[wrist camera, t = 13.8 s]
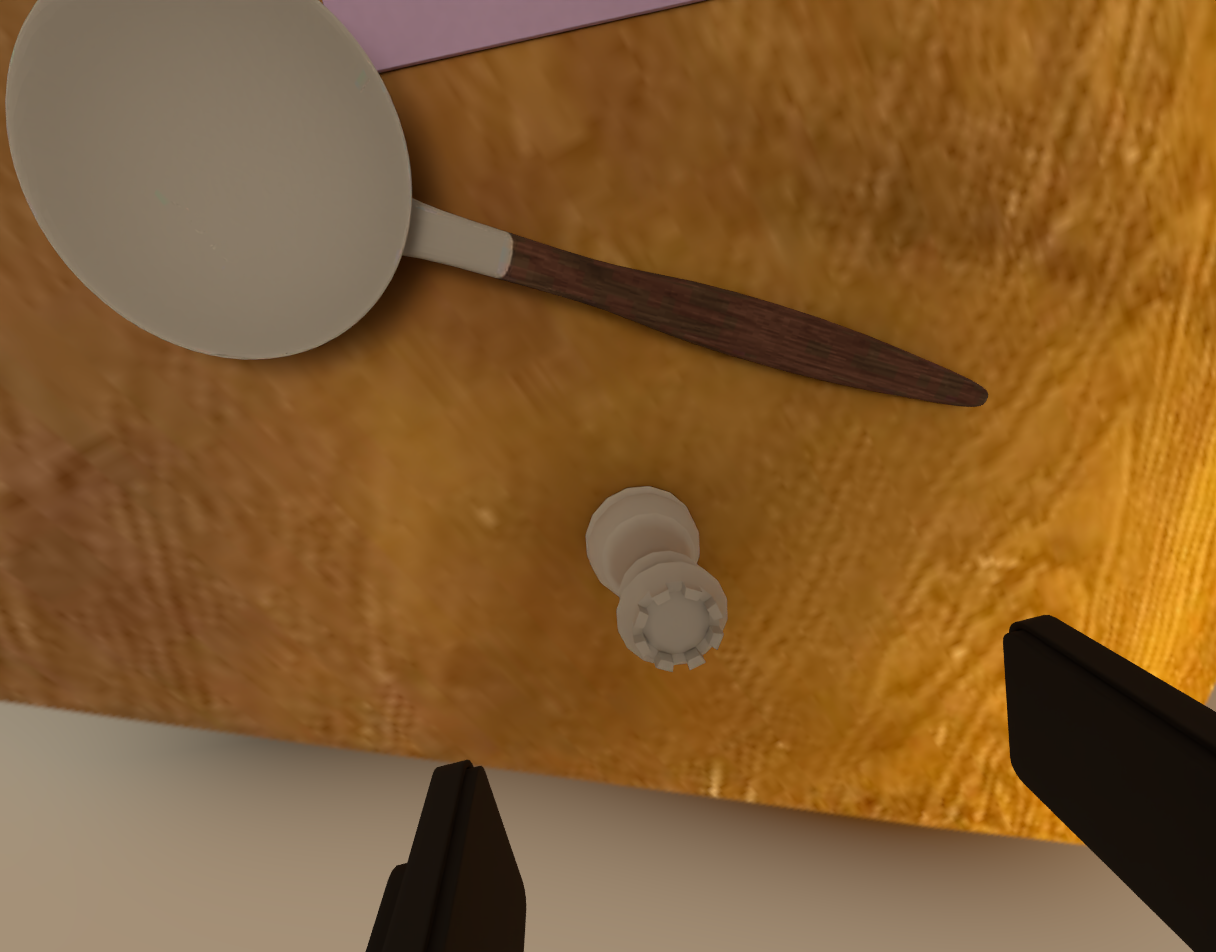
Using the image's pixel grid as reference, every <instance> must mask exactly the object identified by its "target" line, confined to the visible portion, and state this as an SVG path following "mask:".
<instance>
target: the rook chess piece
mask: <svg viewBox="0 0 1216 952" xmlns="http://www.w3.org/2000/svg"><path fill="white" fill-rule="evenodd" d="M586 547H587V557H588V558H589V560H590V564H591V566H592V568H593V570H594V572H595V574H596V575H597V577H598V579H599V581H600V582H601V583H602V584H603V585H605V586H606V587H607V588H608V589H610V590H611V591H612V592H614V593H615V594H616V595H617V596H619V597H620V602H619V605H618V607H617V610H616V611H617V624H618V632H619V633H620V635H621V637H622V639H623V641H624V642H625V644H626V646H627V648H628V649H629V650H631V651H632V652H633V653H635V654H636V655H637V656H639V657H640V658H641V659H643V660H644V661H648V662H651V663H655V667H656V668H658V669H662V670H666V671H670V672H673V666H674V665H677V664H686V663H687V664H688V667H689V669H690V670H691V669H693V668H695V667H697V666H699V665H701V664H703V663H705V660H704V658H703V655H704V654H706V652H707V651H708V650H709V649H710V648H711V647H713V648H715V649H717V650H718V647H719V645H720V642H721V640H722V637H723V635H724V633H723V632H722V631H723V629H724V626H725V624H726V621H727V598H726V596H725V594H724V592H723V590H722V588H721V586H720V584H719V582H718V580H717V579H715V578H714V577H713V576H712V575H710V574H709V573H708V572H707V571H706V570H704V569H703V568H702V567H700V566H699V565H698V564H697V561H698V559H699V555H700V548H699V532H698V530H697V527H696V525H695V523H694V521H693V519H692V517H691V515H690V513H689V511H688V509H687V507H686V506H685V505H684V504H683V503H682V502H681V501H680V500H678V499H677V498H676V497H675V496H674V495H672V494H671V493H670V492H667V491H663V490H660V489H657V488H654V487H650V486H646V487H635V488H626V489H624V490H622V491H620V492H619V493H617V494H615V495H613V496H611V497H609V498H607V499H606V500H605V501H604V502H603V503H602V505H601V506H600V507H599V508H598V509H597V510H596V511H595V513H594V514H593V515H592V518H591V521H590V524H589V527H588V530H587V533H586Z"/></svg>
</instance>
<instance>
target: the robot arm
mask: <svg viewBox="0 0 1216 952" xmlns="http://www.w3.org/2000/svg"><path fill="white" fill-rule="evenodd" d="M1003 650H1004V666H1005V682H1006V698H1007V714H1008V730H1009V746H1010V759H1011V763H1012V766H1013V768H1014V770H1015V772H1016V774H1017V776H1018V777H1019V779H1020V780H1021V781H1022V782H1023V783H1024V784H1025V785H1026V786H1027V787H1028V788H1029V789H1030V790H1031V791H1032V792H1033V793H1034V794H1035V795H1036V796H1037V797H1038V798H1039V799H1040V800H1041V801H1042V802H1043V803H1044V804H1045V805H1046V806H1047V807H1048V808H1049V809H1050V810H1051V811H1052V812H1053V813H1054V814H1055V815H1056V816H1057V817H1058V818H1059V819H1060V820H1061V821H1062V822H1063V823H1064V824H1065V825H1066V826H1067V827H1068V828H1069V829H1070V830H1071V831H1072V832H1073V833H1074V834H1075V835H1076V836H1077V837H1078V838H1080V839H1081V840H1082V841H1083V842H1084V843H1085V844H1086V845H1087V846H1088V847H1089V848H1090V849H1091V850H1092V851H1093V852H1094V853H1095V854H1096V855H1097V856H1098V857H1099V858H1100V859H1101V860H1102V861H1103V862H1104V863H1105V864H1106V865H1107V866H1108V867H1109V868H1110V869H1111V870H1112V871H1113V872H1114V873H1115V874H1116V875H1117V876H1118V877H1119V878H1120V879H1121V880H1122V881H1123V882H1124V883H1125V884H1126V885H1127V886H1128V887H1129V888H1130V889H1131V890H1132V891H1133V892H1134V893H1135V894H1136V895H1137V896H1138V897H1139V898H1140V899H1141V900H1142V901H1143V902H1144V903H1145V904H1146V905H1148V907H1149V908H1150V909H1151V910H1152V911H1153V912H1155V913H1156V914H1157V915H1158V916H1159V917H1160V918H1161V919H1162V920H1163V921H1164V922H1165V923H1166V924H1167V925H1168V926H1169V927H1170V928H1171V929H1172V930H1173V931H1174V932H1175V933H1176V934H1177V935H1178V936H1179V937H1180V938H1181V939H1182V940H1183V941H1184V942H1185V943H1186V944H1187V945H1188V946H1189V947H1190V948H1191V949H1192V950H1193V951H1194V952H1216V712H1215V711H1213V710H1212V709H1210V708H1208V707H1206V706H1205V705H1203V704H1201V703H1200V702H1198V701H1196V700H1195V699H1193V698H1191V697H1189V696H1188V695H1186V694H1184V693H1183V692H1181V691H1179V690H1178V689H1176V688H1174V687H1172V686H1171V685H1169V684H1167V683H1166V682H1164V681H1162V680H1161V679H1159V678H1157V677H1155V676H1154V675H1152V674H1150V673H1149V672H1147V671H1145V670H1144V669H1142V668H1140V667H1138V666H1137V665H1135V664H1133V663H1132V662H1130V661H1128V660H1127V659H1125V658H1123V657H1121V656H1120V655H1118V654H1116V653H1115V652H1113V651H1111V650H1110V649H1108V648H1106V647H1105V646H1103V645H1101V644H1099V643H1098V642H1096V641H1094V640H1093V639H1091V638H1089V637H1088V636H1086V635H1084V634H1082V633H1081V632H1079V631H1077V630H1076V629H1074V628H1072V627H1071V626H1069V625H1067V624H1065V623H1064V622H1062V621H1060V620H1059V619H1057V618H1055V617H1053V616H1050V615H1042V616H1038V617H1034V618H1030V619H1026V620H1022V621H1018V622H1015V623H1013V624H1011V626H1010V628H1009V633H1007V634H1005V636H1004V638H1003ZM525 920H526V896H525V889H524V885H523V881H522V878H521V875H520V873H519V870H518V866H517V864H516V861H515V858H514V855H513V852H512V849H511V846H510V843H509V840H508V837H507V834H506V831H505V828H504V825H503V822H502V819H501V817H500V814H499V811H498V808H497V805H496V802H495V799H494V796H493V793H492V790H491V788H490V785H489V782H488V779H487V775H486V773H485V770H484V768H483V767H482V766H477V767H473V765H472V763H471V762H470V760H464V761H460V762H456V763H452V764H448V765H444V766H441V767H437V768H436V769H435V770H434V772H433V775H432V779H431V782H430V786H429V789H428V792H427V796H426V799H425V803H424V807H423V810H422V813H421V817H420V821H419V824H418V827H417V831H416V835H415V838H414V841H413V845H412V848H411V852H410V855H409V859H408V862H407V863H405V864H401V865H397V866H396V867H395V868H394V869H393V871H392V872H391V875H390V877H389V879H388V882H387V886H386V888H385V892H384V895H383V898H382V901H381V904H380V908H379V911H378V914H377V917H376V921H375V924H374V927H373V930H372V933H371V936H370V940H369V943H368V946H367V949H366V952H524V938H525Z"/></svg>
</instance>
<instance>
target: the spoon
mask: <svg viewBox="0 0 1216 952" xmlns="http://www.w3.org/2000/svg"><path fill="white" fill-rule="evenodd" d="M5 104H6V124H7V133H8V139H9V145H10V151H11V155H12V159H13V163H14V167H15V171H16V174H17V177H18V179H19V182H20V185H21V188H22V191H23V193H24V195H25V198H26V200H27V202H28V204H29V207H30V209H31V211H32V213H33V214H34V216H35V218H36V220H37V222H38V224H39V226H40V227H41V229H42V231H43V232H44V234H45V236H46V237H47V239H48V240H49V242H50V243H51V245H52V246H53V248H54V249H55V251H56V252H57V253H58V255H59V256H60V257H61V258H62V260H63V261H64V262H65V263H66V265H67V266H68V267H69V268H70V269H71V271H72V272H73V273H74V274H75V275H76V276H77V277H78V278H79V279H80V280H81V281H82V282H83V283H84V285H85V286H86V287H87V288H89V289H90V290H91V291H92V292H93V293H94V294H95V295H96V296H97V297H99V298H100V299H101V300H102V301H103V302H104V303H105V304H107V305H108V306H109V307H111V308H112V309H113V310H115V311H116V312H117V313H119V314H120V315H121V316H123V317H124V318H126V319H127V320H129V321H130V322H132V323H134V324H135V325H137V326H138V327H140V328H142V329H144V330H146V331H147V332H149V333H151V334H153V335H155V336H157V337H159V338H161V339H163V340H165V341H168V342H171V343H173V344H176V345H178V346H181V347H184V348H186V349H189V350H192V351H196V352H200V353H204V354H208V355H213V356H219V357H224V358H234V359H271V358H278V357H285V356H290V355H294V354H297V353H301V352H305V351H308V350H310V349H313V348H316V347H318V346H320V345H323V344H325V343H327V342H329V341H330V340H332V339H334V338H336V337H338V336H339V335H341V334H342V333H344V332H345V331H347V330H348V329H349V328H351V327H352V326H353V325H354V324H356V323H357V322H358V321H359V320H360V319H361V318H362V317H364V316H365V315H366V314H367V312H368V311H369V310H370V309H371V308H372V307H373V306H374V305H375V303H376V302H377V301H378V300H379V298H380V297H381V295H382V294H383V292H384V291H385V289H386V288H387V286H388V284H389V283H390V281H391V279H392V277H393V275H394V273H395V271H396V269H397V267H398V264H399V262H400V259H401V257H402V256H408V257H415V258H421V259H425V260H429V261H433V262H437V263H442V264H446V265H450V266H454V267H458V268H461V269H465V270H469V271H472V272H476V273H479V274H483V275H487V276H490V277H494V278H498V279H501V280H505V281H508V282H512V283H516V284H519V285H523V286H527V287H530V288H534V289H538V290H541V291H545V292H548V293H552V294H555V295H558V296H562V297H565V298H569V299H572V300H575V301H579V302H582V303H585V304H588V305H591V306H594V307H597V308H600V309H603V310H606V311H608V312H611V313H614V314H616V315H619V316H622V317H624V318H627V319H630V320H632V321H635V322H637V323H640V324H643V325H645V326H648V327H650V328H653V329H655V330H658V331H661V332H663V333H666V334H668V335H671V336H673V337H676V338H679V339H682V340H685V341H688V342H691V343H694V344H697V345H700V346H703V347H706V348H709V349H712V350H715V351H718V352H721V353H724V354H727V355H731V356H734V357H738V358H741V359H745V360H748V361H752V362H755V363H759V364H762V365H766V366H769V367H773V368H776V369H780V370H783V371H787V372H791V373H795V374H799V375H803V376H807V377H811V378H815V379H819V380H823V381H827V382H831V383H836V384H841V385H846V386H850V387H855V388H860V389H865V390H870V391H875V392H880V393H886V394H891V395H897V396H902V397H908V398H913V399H919V400H924V401H930V402H935V403H941V404H948V405H956V406H967V407H976V406H981V405H983V404H984V403H985V402H986V400H987V398H988V393H987V391H986V390H985V389H984V388H983V387H982V386H980V385H979V384H977V383H975V382H974V381H972V380H970V379H968V378H966V377H964V376H962V375H959V374H957V373H955V372H953V371H951V370H949V369H946V368H944V367H942V366H939V365H937V364H935V363H932V362H930V361H928V360H925V359H923V358H921V357H918V356H916V355H914V354H911V353H909V352H907V351H904V350H902V349H899V348H897V347H894V346H892V345H889V344H887V343H885V342H882V341H880V340H877V339H875V338H872V337H870V336H867V335H865V334H862V333H859V332H856V331H854V330H851V329H848V328H846V327H843V326H840V325H837V324H835V323H832V322H829V321H827V320H824V319H821V318H818V317H815V316H812V315H809V314H805V313H802V312H799V311H796V310H793V309H790V308H787V307H784V306H781V305H778V304H774V303H771V302H767V301H764V300H761V299H757V298H754V297H750V296H747V295H744V294H740V293H737V292H733V291H729V290H725V289H721V288H717V287H713V286H709V285H705V284H701V283H697V282H693V281H689V280H684V279H679V278H674V277H669V276H664V275H659V274H654V273H650V272H645V271H640V270H635V269H631V268H626V267H621V266H617V265H613V264H609V263H605V262H602V261H598V260H594V259H591V258H587V257H584V256H581V255H577V254H574V253H571V252H567V251H564V250H561V249H558V248H555V247H551V246H548V245H545V244H542V243H539V242H536V241H533V240H530V239H527V238H524V237H521V236H518V235H515V234H511V233H508V232H505V231H502V230H499V229H496V228H493V227H490V226H487V225H484V224H481V223H478V222H475V221H472V220H468V219H465V218H463V217H460V216H457V215H454V214H451V213H448V212H445V211H442V210H440V209H437V208H435V207H432V206H430V205H427V204H425V203H422V202H420V201H418V200H415V199H413V198H412V178H411V168H410V160H409V154H408V149H407V144H406V140H405V136H404V133H403V129H402V126H401V123H400V120H399V117H398V114H397V111H396V109H395V106H394V104H393V102H392V99H391V97H390V95H389V93H388V91H387V89H386V87H385V85H384V83H383V81H382V79H381V77H380V75H379V73H378V71H377V70H376V68H375V66H374V65H373V63H372V62H371V60H370V59H369V57H368V55H367V54H366V53H365V51H364V50H363V48H362V47H361V46H360V44H359V43H358V42H357V40H356V39H355V38H354V37H353V35H352V34H351V33H350V32H349V31H348V30H347V28H346V27H345V26H344V25H343V24H342V22H341V21H340V20H339V19H338V18H337V17H336V16H335V15H334V14H333V13H332V12H331V11H330V10H329V9H328V8H327V7H326V6H325V5H323V4H322V3H321V2H320V1H319V0H38V1H37V2H36V3H35V5H34V6H33V8H32V10H31V11H30V13H29V15H28V16H27V18H26V20H25V22H24V24H23V26H22V28H21V30H20V32H19V35H18V37H17V40H16V43H15V46H14V49H13V53H12V56H11V60H10V65H9V70H8V75H7V87H6V100H5Z"/></svg>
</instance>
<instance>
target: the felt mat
mask: <svg viewBox="0 0 1216 952" xmlns="http://www.w3.org/2000/svg"><path fill="white" fill-rule="evenodd" d="M322 1H323V4H324V5H325V6H326V7H327V8H328V9H329V10H330V11H331V12H332V13H333V14H334V15H335V16H336V17H337V18H338V19H339V20H340V21H341V22H342V24H343V25H344V26H345V27H346V28H347V30H348V31H349V32H350V33H351V34H352V35H353V37H354V38H355V39H356V40H357V42H358V43H359V44H360V46H361V47H362V48H363V50H364V51H365V53H366V54H367V55H368V57H369V59H370V60H371V62H372V63H373V65H374V66H375V68H376V70H377V71H378V73H381V72H386V71H390V70H395V69H399V68H404V67H408V66H413V65H417V64H421V63H426V62H430V61H435V60H439V59H444V58H448V57H453V56H457V55H462V54H466V53H471V52H475V51H480V50H484V49H489V48H493V47H498V46H502V45H507V44H511V43H516V42H520V41H525V40H529V39H534V38H538V37H543V36H547V35H552V34H556V33H561V32H565V31H570V30H574V29H579V28H583V27H588V26H592V25H597V24H601V23H606V22H610V21H615V20H619V19H624V18H628V17H633V16H637V15H642V14H646V13H651V12H655V11H659V10H664V9H668V8H673V7H677V6H682V5H686V4H691V3H695V2H700V1H704V0H322Z"/></svg>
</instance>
